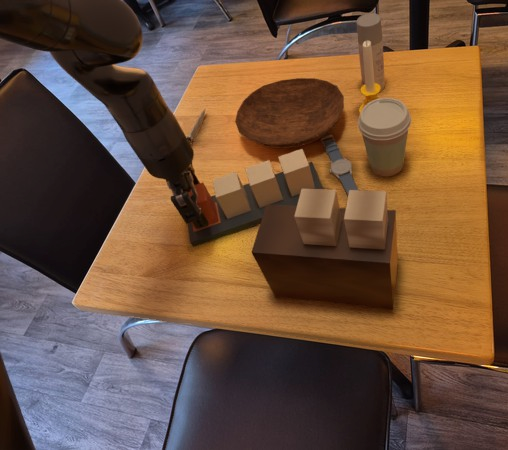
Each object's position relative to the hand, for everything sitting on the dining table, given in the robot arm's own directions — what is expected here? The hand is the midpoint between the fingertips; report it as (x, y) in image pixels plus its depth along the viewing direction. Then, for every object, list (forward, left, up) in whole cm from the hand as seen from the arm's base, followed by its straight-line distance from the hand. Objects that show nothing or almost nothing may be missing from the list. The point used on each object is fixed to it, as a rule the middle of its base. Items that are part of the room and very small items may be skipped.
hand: (199, 207), depth 76 cm
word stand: (-20, -18, -4) cm, 27 cm away
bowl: (+17, -21, -4) cm, 27 cm away
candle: (+14, -37, -4) cm, 40 cm away
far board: (0, -9, -4) cm, 10 cm away
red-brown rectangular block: (0, 0, -3) cm, 3 cm away
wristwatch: (+1, -26, -4) cm, 26 cm away
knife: (+25, -1, -4) cm, 25 cm away
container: (+21, -40, -4) cm, 45 cm away
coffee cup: (-1, -34, -4) cm, 34 cm away
